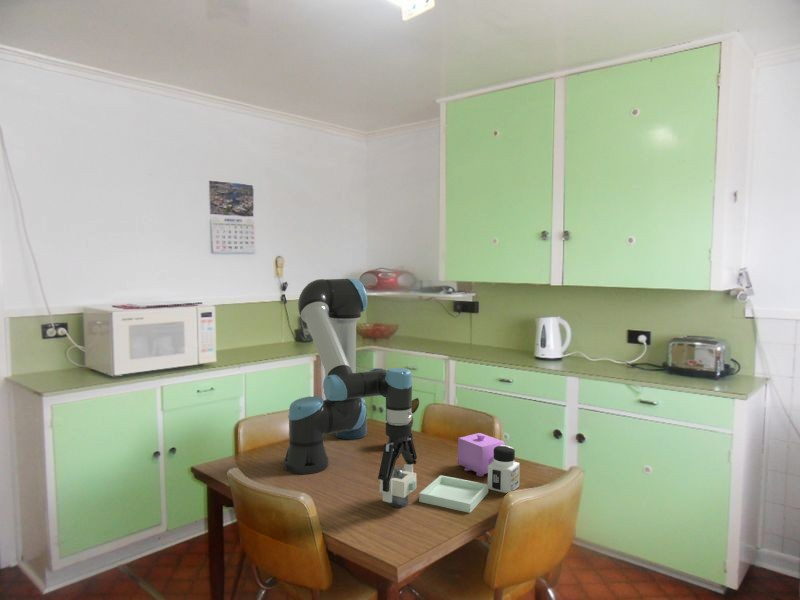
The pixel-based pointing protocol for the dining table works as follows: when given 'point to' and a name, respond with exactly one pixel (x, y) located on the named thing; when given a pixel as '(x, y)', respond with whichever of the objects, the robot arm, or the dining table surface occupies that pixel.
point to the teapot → (477, 452)
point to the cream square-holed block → (402, 484)
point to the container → (503, 470)
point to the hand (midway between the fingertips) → (398, 493)
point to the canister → (354, 431)
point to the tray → (454, 493)
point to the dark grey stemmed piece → (397, 501)
